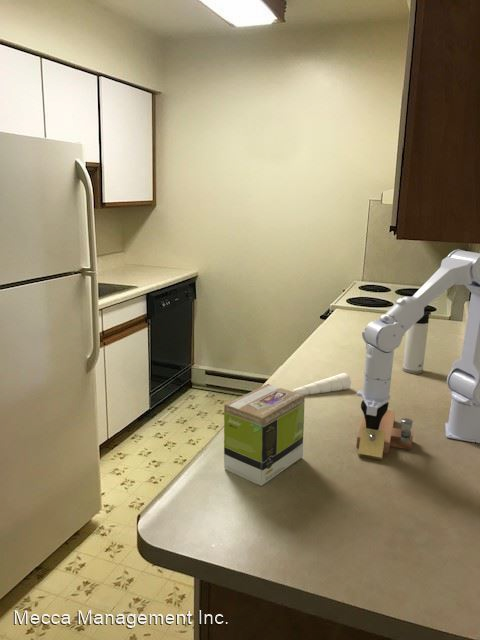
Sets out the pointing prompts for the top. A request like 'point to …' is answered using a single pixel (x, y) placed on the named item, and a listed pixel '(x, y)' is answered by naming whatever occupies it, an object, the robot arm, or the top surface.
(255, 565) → the top surface
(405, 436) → the lever
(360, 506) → the top surface
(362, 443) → the wooden block with bolt
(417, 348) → the travel mug
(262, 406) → the tea box
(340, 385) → the unicorn horn
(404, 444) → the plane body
